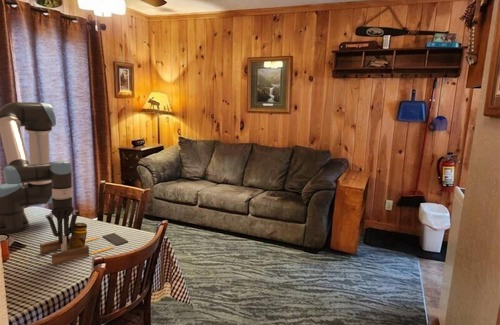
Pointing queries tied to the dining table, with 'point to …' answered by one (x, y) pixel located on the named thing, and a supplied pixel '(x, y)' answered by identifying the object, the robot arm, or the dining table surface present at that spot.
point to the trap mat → (115, 239)
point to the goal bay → (100, 249)
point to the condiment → (78, 236)
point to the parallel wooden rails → (64, 255)
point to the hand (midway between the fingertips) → (63, 250)
